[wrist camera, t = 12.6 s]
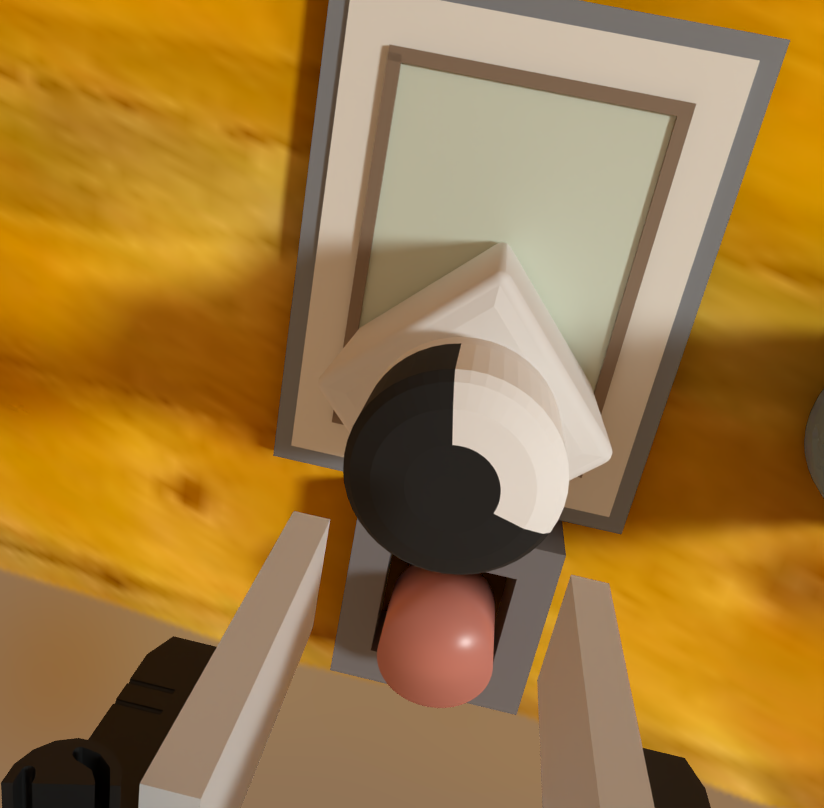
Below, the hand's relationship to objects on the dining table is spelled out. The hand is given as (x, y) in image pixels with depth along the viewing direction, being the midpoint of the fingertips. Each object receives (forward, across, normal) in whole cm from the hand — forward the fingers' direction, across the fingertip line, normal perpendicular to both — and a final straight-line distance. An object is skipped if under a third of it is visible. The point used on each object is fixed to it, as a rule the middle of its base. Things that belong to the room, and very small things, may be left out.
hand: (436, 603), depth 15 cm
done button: (+16, +1, -12) cm, 20 cm away
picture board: (+18, 0, +3) cm, 18 cm away
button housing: (+18, +1, -12) cm, 21 cm away
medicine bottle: (+17, 0, 0) cm, 17 cm away
